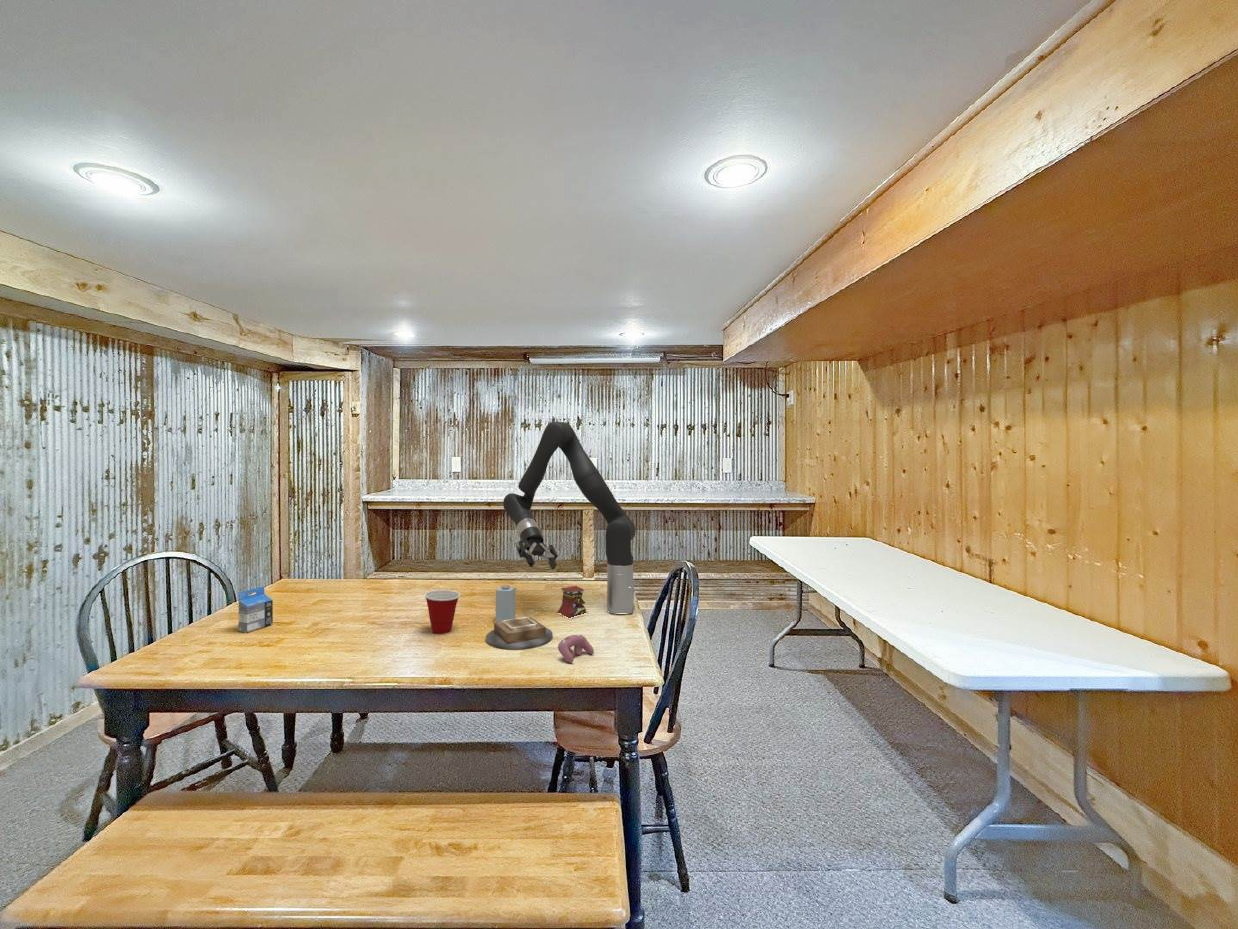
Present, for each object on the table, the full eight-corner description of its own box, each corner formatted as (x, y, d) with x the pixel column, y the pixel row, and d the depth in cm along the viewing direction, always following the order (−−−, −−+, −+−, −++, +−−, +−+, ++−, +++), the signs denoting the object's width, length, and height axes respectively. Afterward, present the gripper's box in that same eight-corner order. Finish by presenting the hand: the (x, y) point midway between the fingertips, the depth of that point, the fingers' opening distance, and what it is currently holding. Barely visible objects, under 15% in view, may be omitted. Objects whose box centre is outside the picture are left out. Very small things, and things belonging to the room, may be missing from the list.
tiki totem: (568, 619, 188) (568, 593, 188) (556, 613, 195) (556, 587, 195) (589, 615, 193) (590, 589, 193) (576, 609, 200) (577, 584, 200)
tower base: (537, 624, 183) (537, 609, 183) (563, 642, 166) (563, 626, 166) (477, 634, 172) (477, 618, 172) (498, 654, 155) (498, 637, 155)
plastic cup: (449, 638, 169) (449, 598, 168) (417, 635, 171) (417, 596, 170) (466, 627, 179) (466, 590, 179) (435, 624, 181) (435, 588, 181)
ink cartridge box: (247, 633, 171) (246, 593, 171) (237, 632, 172) (237, 592, 172) (273, 625, 179) (273, 587, 179) (264, 623, 181) (264, 586, 180)
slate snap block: (515, 619, 187) (515, 584, 187) (510, 624, 183) (510, 588, 182) (501, 618, 188) (501, 584, 188) (495, 623, 183) (495, 587, 183)
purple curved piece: (585, 657, 158) (577, 633, 160) (596, 653, 156) (588, 629, 158) (560, 667, 151) (553, 642, 152) (571, 663, 148) (563, 637, 150)
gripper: (516, 523, 192) (530, 556, 181) (551, 528, 201) (566, 560, 190) (507, 539, 195) (520, 572, 184) (542, 543, 204) (556, 576, 192)
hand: (543, 566), depth 187 cm, fingers open, 8 cm apart
